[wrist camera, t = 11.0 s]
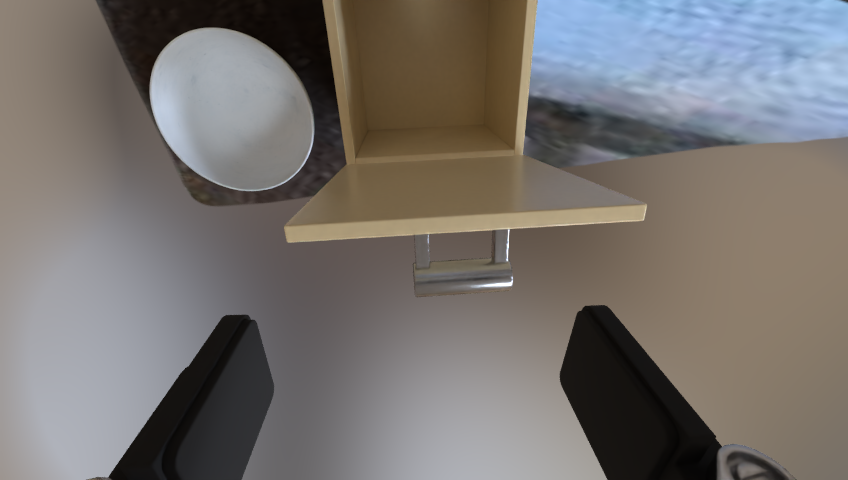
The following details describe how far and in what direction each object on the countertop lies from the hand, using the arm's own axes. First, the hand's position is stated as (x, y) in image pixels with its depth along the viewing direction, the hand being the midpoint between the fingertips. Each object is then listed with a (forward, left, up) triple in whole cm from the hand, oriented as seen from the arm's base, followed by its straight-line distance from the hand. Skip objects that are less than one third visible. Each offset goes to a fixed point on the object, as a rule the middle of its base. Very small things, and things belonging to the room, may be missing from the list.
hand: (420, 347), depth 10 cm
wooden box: (-7, +2, -36) cm, 37 cm away
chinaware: (-3, -17, -36) cm, 40 cm away
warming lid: (-1, +2, -14) cm, 14 cm away
